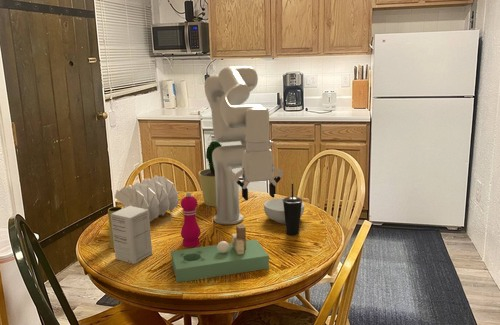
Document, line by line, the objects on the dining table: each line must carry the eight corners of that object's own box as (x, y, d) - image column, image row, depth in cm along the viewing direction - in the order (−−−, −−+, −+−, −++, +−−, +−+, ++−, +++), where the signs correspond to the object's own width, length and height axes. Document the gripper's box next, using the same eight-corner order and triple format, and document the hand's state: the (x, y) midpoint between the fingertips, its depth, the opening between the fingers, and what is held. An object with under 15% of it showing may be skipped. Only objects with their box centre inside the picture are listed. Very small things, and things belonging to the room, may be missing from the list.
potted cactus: (197, 199, 225) (194, 137, 218) (229, 196, 229) (227, 135, 222) (202, 209, 211) (199, 144, 204) (235, 206, 214) (233, 141, 207)
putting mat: (171, 263, 158) (170, 251, 157) (256, 251, 166) (256, 239, 165) (177, 282, 145) (176, 269, 144) (269, 268, 153) (268, 255, 152)
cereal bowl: (310, 224, 190) (310, 207, 189) (271, 229, 186) (271, 212, 184) (295, 211, 206) (295, 195, 204) (259, 215, 202) (258, 200, 200)
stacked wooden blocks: (232, 245, 160) (231, 222, 158) (241, 243, 161) (241, 221, 159) (238, 254, 152) (237, 231, 150) (248, 253, 153) (247, 230, 151)
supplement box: (133, 248, 171) (129, 205, 167) (153, 253, 166) (149, 208, 162) (114, 259, 163) (109, 213, 159) (133, 264, 158) (129, 217, 154)
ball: (216, 251, 156) (215, 239, 155) (227, 249, 157) (227, 238, 157) (218, 256, 153) (218, 244, 152) (230, 254, 154) (230, 242, 153)
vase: (111, 249, 170) (108, 212, 167) (108, 244, 176) (104, 207, 172) (128, 246, 173) (125, 209, 170) (124, 240, 178) (121, 205, 175)
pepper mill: (204, 241, 176) (201, 190, 171) (196, 249, 169) (193, 196, 165) (187, 239, 178) (184, 188, 174) (178, 246, 172) (174, 194, 167)
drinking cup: (301, 237, 177) (301, 187, 172) (281, 236, 178) (281, 186, 174) (303, 230, 184) (303, 181, 179) (284, 229, 186) (283, 180, 181)
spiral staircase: (176, 219, 210) (137, 236, 189) (149, 198, 217) (108, 212, 195) (190, 186, 203) (151, 200, 182) (161, 165, 210) (120, 176, 188)
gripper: (279, 142, 156) (279, 191, 160) (228, 146, 151) (230, 197, 155) (287, 146, 149) (287, 198, 153) (234, 150, 144) (236, 204, 148)
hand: (258, 197), depth 154 cm, fingers open, 8 cm apart
